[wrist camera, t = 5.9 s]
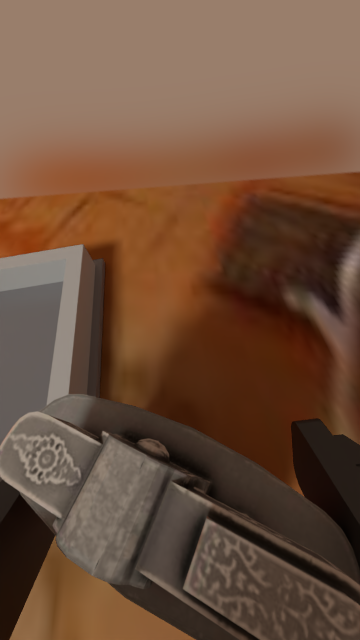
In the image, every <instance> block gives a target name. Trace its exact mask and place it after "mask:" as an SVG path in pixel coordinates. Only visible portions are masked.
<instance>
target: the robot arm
mask: <svg viewBox="0 0 360 640" xmlns="http://www.w3.org/2000/svg"><path fill="white" fill-rule="evenodd" d="M291 432H292V448H293V463H294V469H295V474H296V477H297V480H298V483H299V486H300V488H301V490H302V492H303V494H304V496H305V498H306V499H308V500H309V501H311V502H312V503H313V504H315V505H316V506H318V507H319V508H320V509H322V510H323V511H325V512H326V513H327V514H328V515H329V516H330V517H331V518H332V519H333V520H334V521H335V523H336V524H337V525H338V526H339V527H340V528H341V529H342V530H343V532H344V534H345V535H346V537H347V539H348V541H349V543H350V544H351V546H352V548H353V551H354V554H355V557H356V560H357V563H358V566H359V569H360V445H359V444H357V443H356V442H354V441H353V440H351V439H349V438H348V437H346V436H345V435H343V434H342V435H334V436H333V435H332V434H331V433H330V431H329V430H328V429H327V427H326V426H325V425H324V424H323V422H322V421H321V420H320V419H318V418H316V419H309V420H301V421H293V422H292V424H291ZM54 537H55V534H54V533H53V532H52V531H51V529H50V528H49V527H48V526H47V525H46V524H45V523H44V521H43V520H42V519H41V518H40V517H39V516H38V514H37V513H36V512H35V511H34V510H33V509H32V507H31V506H30V505H29V504H28V503H27V502H26V501H25V499H24V498H23V497H22V496H21V494H20V492H19V491H18V490H17V489H15V488H14V487H13V486H11V485H10V484H8V483H7V482H5V481H4V480H2V481H0V640H9V639H10V637H11V635H12V632H13V630H14V628H15V625H16V623H17V621H18V619H19V616H20V614H21V612H22V610H23V607H24V605H25V603H26V600H27V598H28V596H29V594H30V591H31V589H32V587H33V585H34V582H35V580H36V578H37V576H38V573H39V571H40V569H41V566H42V564H43V562H44V560H45V557H46V555H47V553H48V551H49V548H50V546H51V544H52V541H53V539H54Z"/></svg>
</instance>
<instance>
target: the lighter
mask: <svg viewBox="0 0 360 640" xmlns="http://www.w3.org/2000/svg"><path fill="white" fill-rule="evenodd" d="M0 477H1V478H2V479H3V480H4V481H5V482H7V483H8V484H10V485H11V486H13V487H14V488H15V489H17V490H18V491H19V492H20V494H21V496H22V497H23V498H24V499H25V501H26V502H27V503H28V504H29V505H30V506H31V507H32V509H33V510H34V511H35V512H36V513H37V514H38V516H39V517H40V518H41V519H42V520H43V521H44V523H45V524H46V525H47V526H48V527H49V528H50V529H51V531H52V532H53V533H54V534H55V535H56V543H57V546H58V547H59V549H60V550H61V551H62V552H63V554H64V555H65V556H66V557H67V558H68V559H70V560H71V561H73V562H74V563H75V564H77V565H78V566H79V567H81V568H82V569H84V570H85V571H86V572H88V573H89V574H91V575H92V576H94V577H96V578H99V579H101V580H103V581H106V582H108V583H109V584H110V585H111V586H112V587H113V588H115V589H116V590H117V591H118V592H119V593H120V594H122V595H123V596H124V597H125V598H127V599H129V600H130V601H132V602H134V603H135V604H137V605H139V606H140V607H142V608H144V609H145V610H147V611H149V612H150V613H152V614H154V615H156V616H157V617H159V618H161V619H162V620H164V621H166V622H167V623H169V624H171V625H172V626H174V627H176V628H177V629H179V630H181V631H183V632H184V633H186V634H188V635H189V636H191V637H193V638H194V639H196V640H360V569H359V566H358V563H357V560H356V557H355V554H354V551H353V548H352V546H351V544H350V543H349V541H348V539H347V537H346V535H345V534H344V532H343V530H342V529H341V528H340V527H339V526H338V525H337V524H336V523H335V521H334V520H333V519H332V518H331V517H330V516H329V515H328V514H327V513H326V512H325V511H323V510H322V509H320V508H319V507H318V506H316V505H315V504H313V503H312V502H311V501H309V500H308V499H306V498H305V497H303V496H302V495H301V494H299V493H298V492H296V491H295V490H294V489H292V488H291V487H289V486H288V485H287V484H285V483H284V482H282V481H281V480H279V479H278V478H277V477H275V476H274V475H272V474H271V473H270V472H268V471H267V470H265V469H264V468H263V467H261V466H260V465H258V464H257V463H255V462H254V461H252V460H250V459H248V458H246V457H245V456H243V455H241V454H239V453H237V452H235V451H234V450H232V449H230V448H228V447H226V446H225V445H223V444H221V443H219V442H217V441H216V440H214V439H212V438H210V437H208V436H207V435H205V434H203V433H201V432H199V431H197V430H196V429H194V428H192V427H189V426H186V425H184V424H181V423H178V422H176V421H173V420H170V419H168V418H165V417H162V416H160V415H157V414H154V413H152V412H149V411H146V410H144V409H141V408H138V407H136V406H132V405H127V404H123V403H119V402H114V401H110V400H106V399H101V398H97V397H93V396H88V395H84V394H68V395H65V396H63V397H60V398H58V399H55V400H53V401H52V402H51V403H49V404H48V405H47V406H45V407H44V408H43V409H41V410H40V411H39V412H38V411H37V412H30V413H27V414H26V415H24V416H23V417H21V418H20V419H19V420H18V421H17V422H16V423H15V425H14V426H13V427H12V428H11V429H10V431H9V432H8V434H7V435H6V437H5V438H4V440H3V442H2V444H1V445H0Z"/></svg>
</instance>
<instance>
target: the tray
mask: <svg viewBox="0 0 360 640" xmlns="http://www.w3.org/2000/svg"><path fill="white" fill-rule="evenodd" d="M104 279H105V262H104V260H103V258H102V259H96V260H92V258H91V257H90V255H89V253H88V251H87V250H86V248H85V246H84V245H83V244H82V245H76V246H70V247H64V248H59V249H53V250H47V251H41V252H35V253H29V254H23V255H17V256H12V257H6V258H0V445H1V444H2V442H3V440H4V438H5V437H6V435H7V434H8V432H9V431H10V429H11V428H12V427H13V426H14V425H15V423H16V422H17V421H18V420H19V419H20V418H21V417H23V416H24V415H26V414H27V413H30V412H37V411H38V412H39V411H40V410H41V409H43V408H44V407H45V406H47V405H48V404H49V403H51V402H52V401H53V400H55V399H58V398H60V397H63V396H65V395H68V394H84V395H88V396H93V397H97V398H99V396H100V372H101V349H102V326H103V302H104ZM2 480H3V479H2V478H1V477H0V481H2Z"/></svg>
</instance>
